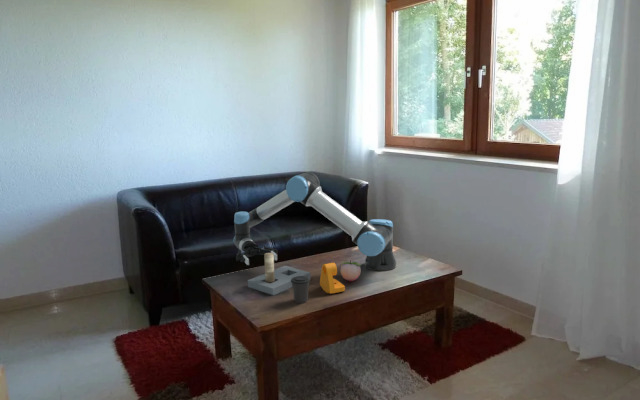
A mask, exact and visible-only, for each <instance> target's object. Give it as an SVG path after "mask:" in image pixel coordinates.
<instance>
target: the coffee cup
mask: <svg viewBox="0 0 640 400" xmlns="http://www.w3.org/2000/svg"><path fill="white" fill-rule="evenodd" d="M291 282H292V287H291V288H292V292H293V299H294V300H293V301H294V302H295V303H296V304H306V303H307V302H308V300H309V290H310V289H309V288H310V282H311V279H310V278H309V277H306V276H296V277H293V278H292V279H291Z"/></svg>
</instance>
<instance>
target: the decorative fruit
mask: <svg viewBox="0 0 640 400" xmlns="http://www.w3.org/2000/svg"><path fill="white" fill-rule="evenodd" d="M339 265H341V266H340V275H341V277H342V278H343V280H345V281H348V282H350V283H351V282H353V281H355V280H357V279H358V278H359V277H360V276H361V273H362V272H361V271H362V270H361V267H362V265H361V264H360V263H358V262H356V261H355V262H353V261H352V260H351V259H350V261H344V262H341V263H340V264H339Z"/></svg>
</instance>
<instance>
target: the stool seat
mask: <svg viewBox="0 0 640 400" xmlns="http://www.w3.org/2000/svg"><path fill="white" fill-rule="evenodd" d="M296 276H306V277H309V278H310V280H311V278H312V276H311V272H309V271H306V270H302V269H299V268H295V267H292V266H288V265H283V266H280V267H279V268H274V278H275V282H273V283H266V282H265V273H263V274H260V275H257V276H255V277H253V278H250V279H247V287H248V288H250V289H254V290H257V291H259V292H262V293H266V294H267V295H271V296H275V295H277V294H280V293H282V292H285V291H287V290H289V289H291V288H293V287H292V282H291V279H292V278H293V277H296Z"/></svg>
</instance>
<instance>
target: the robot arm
mask: <svg viewBox="0 0 640 400" xmlns="http://www.w3.org/2000/svg"><path fill="white" fill-rule="evenodd" d="M320 184H321V183H320V179H319V178H318V176H317V175H316V174H315V173H313V172H311V171H309V172H308V171H307V172H302V173H300V174H296V175H294V176H292V177H291V178H290V179H288V181H287V183H286V186H285V190H283V191H281V192H280V193H278V194H276V195H275V196H273V197H272V198H269V200H266V202H263V203H262V204H261V205H259V206H258V207H256V208H254V209H253V210H251V211H249V212H248V211H237V212H235V213H234V220H233V223H234V237H233V243H234V245H235V247H236V248H237V253H236V255H235V261H237V262H238V261H240V263H245V264H246V266H250V259H249V257H250V258H251V257H255V256H262V255H263V256H264V254H266V253H273V254H274V261H278V249H276V248H272V247H267V246H266V245H263V246H262V247H259V246H258V245H257V243H256V242H255V241H253V240H252V239H251V228H252V227H255V226H256V225H258V224H260V223H262V222H264V220H267V219H268V218H270V217H271V216H273V215H275V214H276V213H278V212H280V211H281V210H282V209H285V208H286V207H288V206H290V205H292V204H293V203H296V202H297V203H301V204H302V205H304V206H305V207H312V208H313V209H314V210H316V211H317V212H319V214H321V215H323V216H324V217H325V219H326V218H327V219H328V220H329V221H331V222H332V223H333V224H334V225H335V226H337V227H338V228H340V229H341V230H343V231H344V233H346V234H348V235H349V236H351V241H352V242H353V243H354V244H355V245H357V249H358V250H359V252H360V253H362V255H364V256H366V258H365V260H364V266H365V267H366V268H367V269H369V270H373V271H390V270H393V269H395V268H396V267H397V260H396V258H395V254H394V250H393V248H394V247H393V243H394V241H393V237H394V236H393V235H394V233H393V232H394V224H393V221H391V220H390V219H382V218H381V219H378V218H376V219H375V218H374V219H370V220H369V221H366V220H365V221H362V220H361V219H360V218H359V217H357V216H356V215H355V214H354V213H352V212H351V211H349V210H347V208H345V207H343V206H342V205H341V204H339V202H337V201H336V200H334V199H332V198H331V197H330V196H328V195H327V193H325V192H323V190H322V186H321V185H320Z"/></svg>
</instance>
